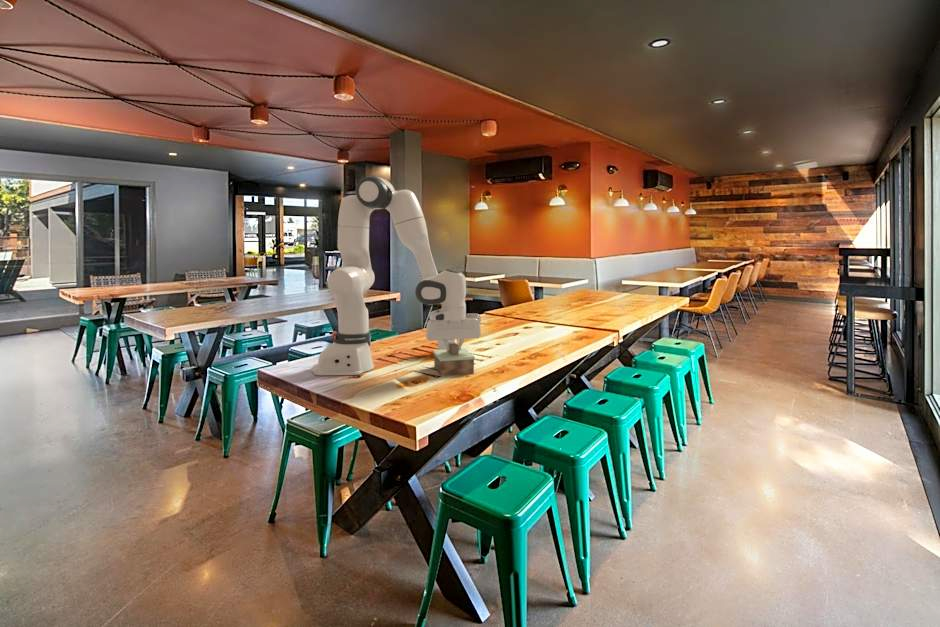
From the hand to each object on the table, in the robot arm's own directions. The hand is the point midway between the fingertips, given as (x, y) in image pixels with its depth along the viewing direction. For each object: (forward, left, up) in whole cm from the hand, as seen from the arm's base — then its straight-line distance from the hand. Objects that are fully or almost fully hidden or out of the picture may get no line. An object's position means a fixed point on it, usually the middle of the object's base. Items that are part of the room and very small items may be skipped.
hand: (453, 350), depth 181 cm
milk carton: (+4, +26, -8) cm, 28 cm away
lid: (0, 0, -2) cm, 2 cm away
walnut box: (0, 0, -8) cm, 8 cm away
